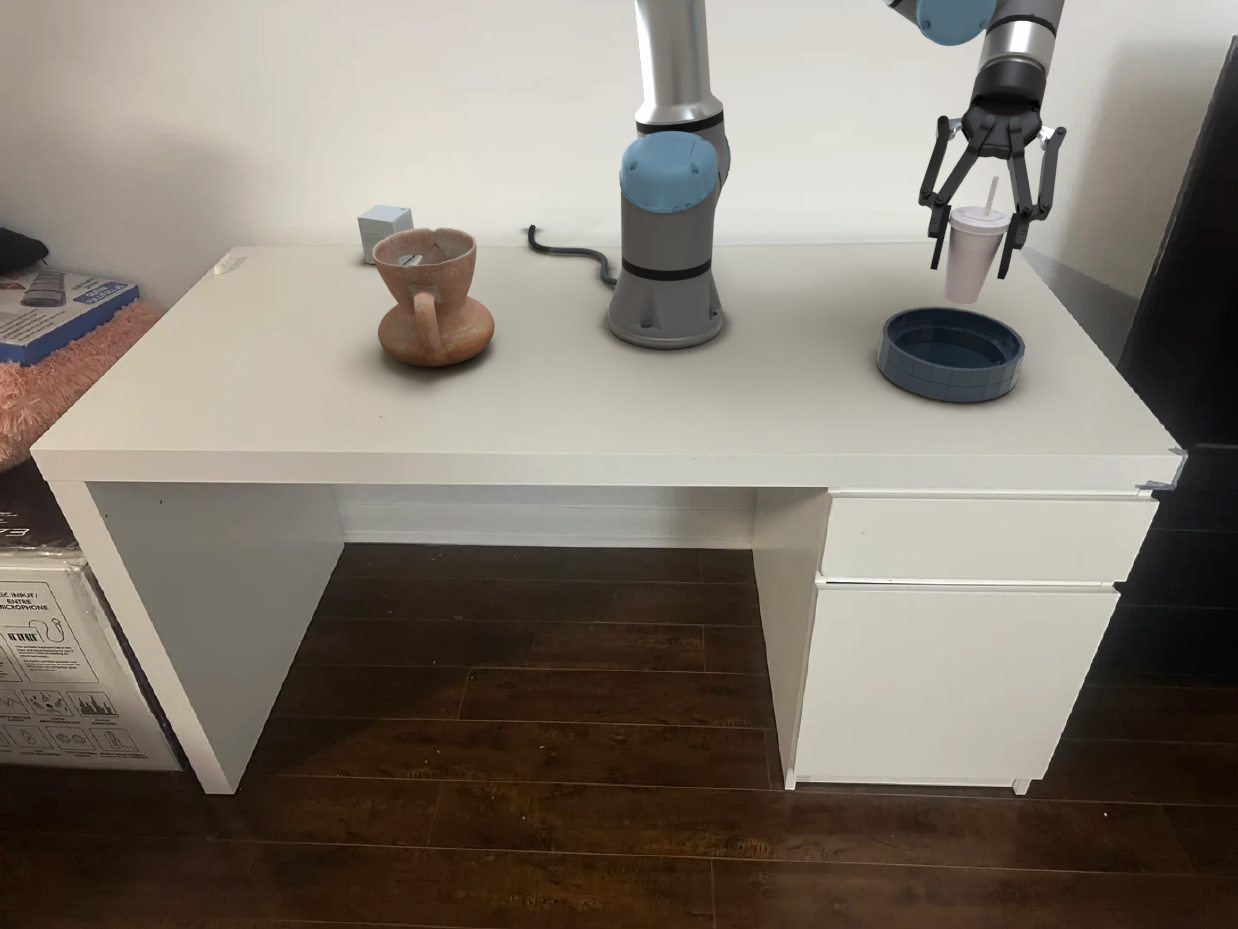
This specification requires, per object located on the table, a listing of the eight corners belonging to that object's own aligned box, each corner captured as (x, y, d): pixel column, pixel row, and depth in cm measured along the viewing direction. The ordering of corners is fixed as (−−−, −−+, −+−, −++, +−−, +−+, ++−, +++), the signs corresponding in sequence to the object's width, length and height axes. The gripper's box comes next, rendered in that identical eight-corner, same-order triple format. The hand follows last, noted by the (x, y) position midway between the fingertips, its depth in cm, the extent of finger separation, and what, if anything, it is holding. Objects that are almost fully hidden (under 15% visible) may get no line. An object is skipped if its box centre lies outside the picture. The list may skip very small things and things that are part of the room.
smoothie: (992, 311, 98) (1027, 188, 90) (933, 306, 99) (962, 184, 91) (985, 287, 103) (1017, 168, 95) (929, 283, 104) (956, 165, 96)
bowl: (851, 351, 110) (856, 319, 108) (956, 329, 115) (964, 298, 112) (930, 416, 98) (938, 381, 95) (1045, 389, 103) (1056, 355, 100)
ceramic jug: (393, 322, 118) (374, 220, 110) (500, 318, 119) (489, 217, 110) (370, 391, 104) (347, 280, 95) (492, 386, 104) (480, 275, 96)
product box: (384, 248, 139) (376, 203, 135) (419, 252, 137) (412, 207, 133) (364, 263, 134) (355, 217, 130) (400, 268, 133) (392, 221, 128)
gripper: (1096, 104, 99) (1055, 295, 96) (919, 89, 104) (877, 269, 102) (1115, 64, 92) (1072, 269, 89) (924, 50, 97) (879, 242, 95)
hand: (968, 269), depth 95 cm, fingers closed on smoothie, 6 cm apart
